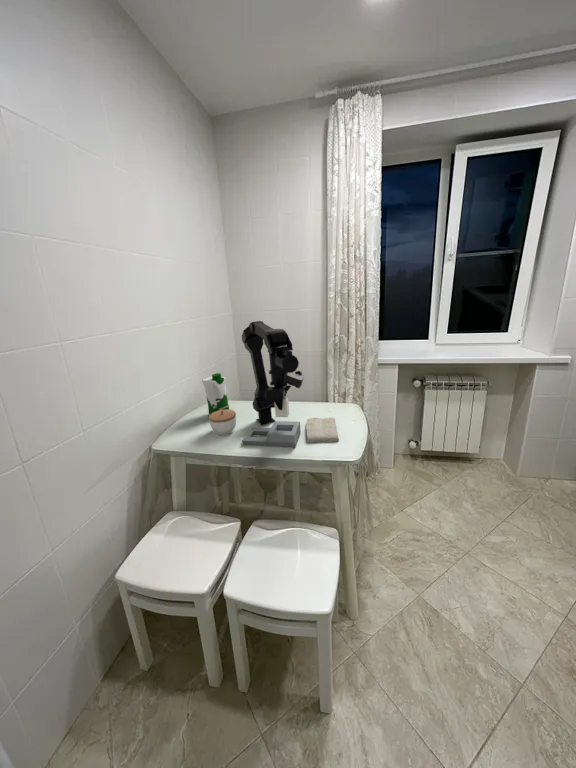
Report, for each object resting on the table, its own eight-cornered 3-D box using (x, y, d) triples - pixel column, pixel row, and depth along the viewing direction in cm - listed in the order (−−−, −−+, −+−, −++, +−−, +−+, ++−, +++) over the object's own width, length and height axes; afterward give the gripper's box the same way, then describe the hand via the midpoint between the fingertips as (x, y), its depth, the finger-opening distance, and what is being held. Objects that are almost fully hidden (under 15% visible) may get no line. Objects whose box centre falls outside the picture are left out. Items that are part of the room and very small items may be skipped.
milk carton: (218, 420, 132) (212, 377, 126) (205, 416, 138) (198, 375, 131) (233, 413, 139) (227, 372, 133) (220, 409, 144) (214, 370, 138)
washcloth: (334, 421, 124) (334, 414, 123) (340, 442, 107) (339, 435, 106) (306, 423, 124) (305, 416, 123) (307, 444, 107) (306, 436, 106)
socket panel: (242, 445, 109) (241, 433, 107) (252, 431, 119) (250, 420, 118) (295, 447, 104) (294, 435, 103) (300, 433, 115) (299, 421, 113)
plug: (275, 416, 107) (273, 398, 104) (277, 413, 110) (275, 395, 107) (287, 417, 106) (286, 398, 104) (289, 413, 109) (288, 395, 106)
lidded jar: (236, 436, 116) (233, 414, 113) (209, 439, 116) (205, 417, 113) (239, 424, 126) (236, 404, 123) (214, 427, 126) (210, 407, 123)
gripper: (296, 373, 92) (299, 419, 96) (305, 359, 109) (307, 398, 114) (262, 374, 94) (266, 418, 99) (276, 360, 111) (279, 398, 116)
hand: (281, 408), depth 107 cm, fingers closed on plug, 3 cm apart
